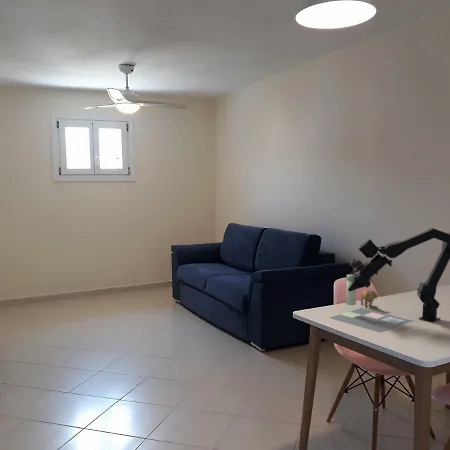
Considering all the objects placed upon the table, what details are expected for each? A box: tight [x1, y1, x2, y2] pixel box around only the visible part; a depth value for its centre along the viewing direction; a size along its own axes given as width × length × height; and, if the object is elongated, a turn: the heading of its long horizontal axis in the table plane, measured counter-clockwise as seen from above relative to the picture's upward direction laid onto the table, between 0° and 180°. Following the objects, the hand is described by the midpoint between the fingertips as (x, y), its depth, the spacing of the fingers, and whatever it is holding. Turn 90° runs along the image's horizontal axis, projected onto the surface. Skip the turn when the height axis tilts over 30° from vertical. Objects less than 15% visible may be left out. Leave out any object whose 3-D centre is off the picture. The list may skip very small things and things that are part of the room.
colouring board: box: [328, 307, 413, 334], centre depth 204 cm, size 24×26×1 cm
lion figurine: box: [359, 289, 379, 309], centre depth 227 cm, size 15×5×9 cm, turn 9°
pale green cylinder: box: [345, 273, 357, 306], centre depth 210 cm, size 4×4×13 cm
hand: (348, 289), depth 210 cm, fingers closed on pale green cylinder, 4 cm apart
